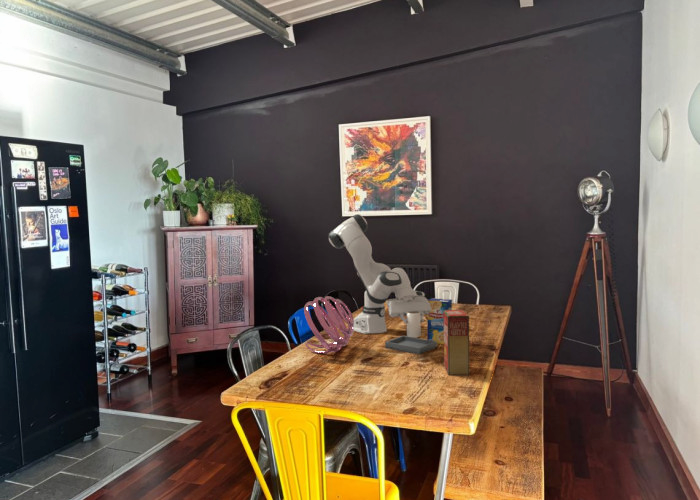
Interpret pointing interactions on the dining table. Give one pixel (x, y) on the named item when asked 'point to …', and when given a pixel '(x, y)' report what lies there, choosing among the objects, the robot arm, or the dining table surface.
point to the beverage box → (437, 319)
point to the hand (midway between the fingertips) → (414, 322)
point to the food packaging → (456, 342)
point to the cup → (414, 324)
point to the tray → (411, 344)
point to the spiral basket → (330, 323)
